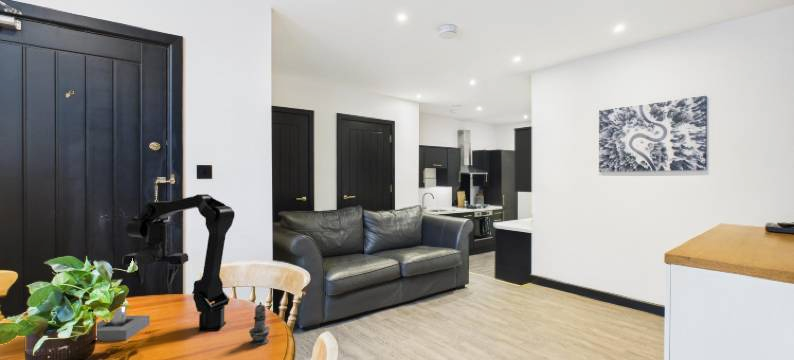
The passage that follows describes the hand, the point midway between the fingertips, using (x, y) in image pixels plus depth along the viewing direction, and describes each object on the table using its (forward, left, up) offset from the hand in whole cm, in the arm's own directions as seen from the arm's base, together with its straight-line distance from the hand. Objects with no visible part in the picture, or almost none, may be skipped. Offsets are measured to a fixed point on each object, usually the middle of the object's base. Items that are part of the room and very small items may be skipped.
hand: (155, 283), depth 125 cm
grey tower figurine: (-40, +20, -12) cm, 46 cm away
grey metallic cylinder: (+5, +11, -12) cm, 17 cm away
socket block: (+5, +11, -12) cm, 17 cm away
